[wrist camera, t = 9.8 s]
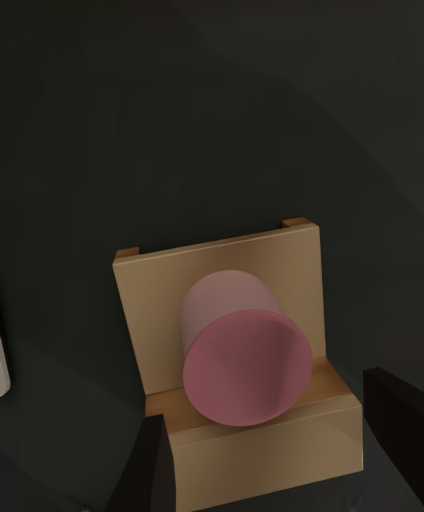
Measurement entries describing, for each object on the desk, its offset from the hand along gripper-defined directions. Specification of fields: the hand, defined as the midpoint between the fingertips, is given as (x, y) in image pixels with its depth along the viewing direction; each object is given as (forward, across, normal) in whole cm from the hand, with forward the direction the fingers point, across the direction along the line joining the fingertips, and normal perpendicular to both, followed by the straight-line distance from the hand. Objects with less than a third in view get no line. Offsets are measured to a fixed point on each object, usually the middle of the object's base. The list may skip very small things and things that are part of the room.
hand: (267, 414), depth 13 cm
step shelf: (+9, 0, +1) cm, 9 cm away
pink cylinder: (+6, 0, -1) cm, 6 cm away
